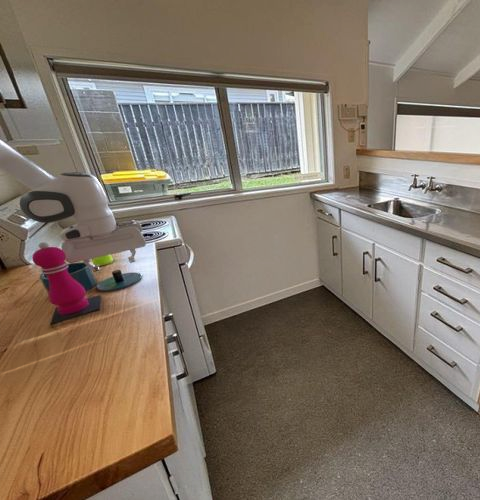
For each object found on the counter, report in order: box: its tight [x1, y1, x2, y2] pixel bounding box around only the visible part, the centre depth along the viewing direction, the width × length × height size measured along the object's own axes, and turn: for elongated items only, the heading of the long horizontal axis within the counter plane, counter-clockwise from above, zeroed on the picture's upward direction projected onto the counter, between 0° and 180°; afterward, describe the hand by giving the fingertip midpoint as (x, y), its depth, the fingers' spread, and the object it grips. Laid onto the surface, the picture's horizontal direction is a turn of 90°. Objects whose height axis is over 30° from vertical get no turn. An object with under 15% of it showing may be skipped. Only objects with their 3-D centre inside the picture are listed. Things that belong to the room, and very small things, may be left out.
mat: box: [49, 294, 102, 326], centre depth 80 cm, size 10×10×1 cm
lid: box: [96, 269, 143, 292], centre depth 94 cm, size 12×12×5 cm
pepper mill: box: [31, 241, 89, 315], centre depth 76 cm, size 7×7×20 cm
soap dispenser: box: [91, 254, 114, 267], centre depth 108 cm, size 6×7×20 cm
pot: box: [39, 261, 98, 296], centre depth 90 cm, size 11×11×8 cm
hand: (115, 266), depth 92 cm, fingers open, 8 cm apart
